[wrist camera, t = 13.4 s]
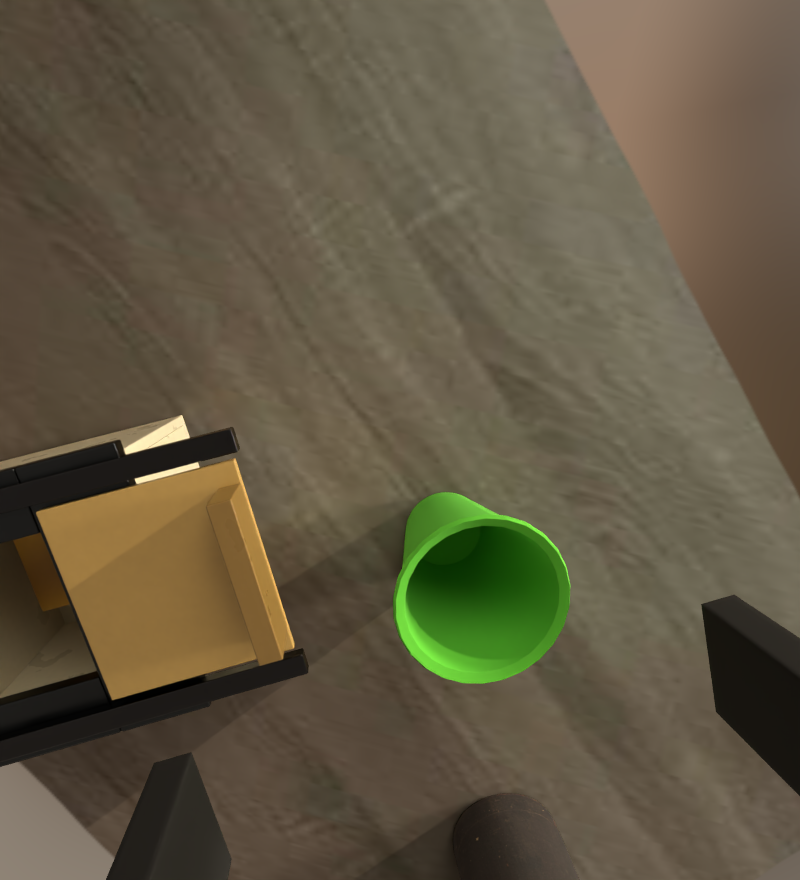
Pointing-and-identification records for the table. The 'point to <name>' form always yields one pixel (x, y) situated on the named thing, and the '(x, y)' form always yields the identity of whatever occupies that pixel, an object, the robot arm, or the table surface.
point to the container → (510, 841)
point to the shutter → (169, 578)
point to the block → (41, 572)
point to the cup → (477, 591)
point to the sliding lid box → (59, 630)
